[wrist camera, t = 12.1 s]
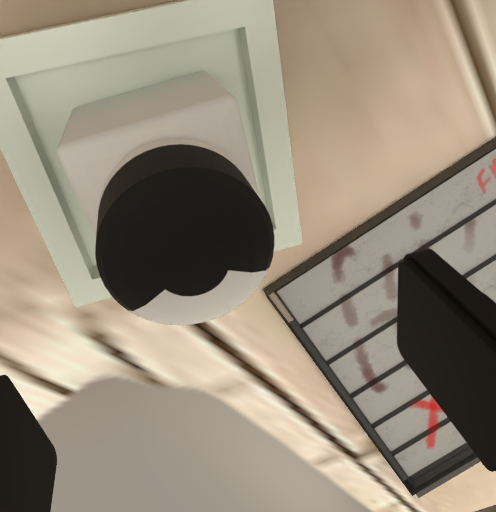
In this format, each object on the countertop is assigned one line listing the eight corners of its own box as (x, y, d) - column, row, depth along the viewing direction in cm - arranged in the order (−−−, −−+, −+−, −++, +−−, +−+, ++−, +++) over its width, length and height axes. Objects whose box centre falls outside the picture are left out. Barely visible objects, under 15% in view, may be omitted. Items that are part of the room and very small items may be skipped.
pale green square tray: (256, -16, 23) (270, -17, 21) (289, 226, 30) (302, 244, 28) (-31, 43, 21) (-48, 48, 19) (78, 284, 29) (75, 307, 27)
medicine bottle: (69, 107, 23) (31, 200, 13) (206, 67, 23) (274, 126, 13) (122, 229, 26) (125, 376, 16) (238, 192, 27) (311, 311, 17)
